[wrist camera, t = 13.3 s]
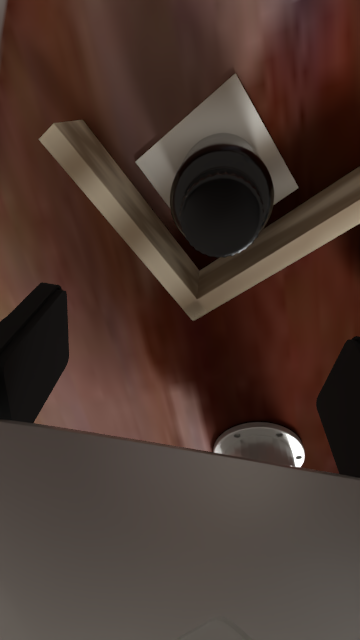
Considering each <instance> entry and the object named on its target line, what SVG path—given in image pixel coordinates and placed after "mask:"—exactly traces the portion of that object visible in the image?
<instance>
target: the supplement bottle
mask: <svg viewBox="0 0 360 640" xmlns="http://www.w3.org/2000/svg"><path fill="white" fill-rule="evenodd" d="M273 204H274V187H273V182H272V178H271V175H270V173H269V171H268V169H267V167H266V165H265V164H264V162H263V161H262V159H261V158H260V156H259V155H258V153H257V152H256V150H255V149H254V148H253V147H252V146H251V145H250V144H249V143H248V142H247V141H246V140H244V139H243V138H241V137H239V136H237V135H234V134H229V133H218V134H213V135H210V136H207V137H205V138H203V139H202V140H200V141H199V142H197V143H196V144H195V145H194V146H193V147H192V148H191V150H190V151H189V152H188V154H187V155H186V157H185V159H184V160H183V162H182V164H181V166H180V167H179V169H178V171H177V173H176V175H175V177H174V180H173V183H172V186H171V191H170V209H171V213H172V217H173V219H174V222H175V224H176V226H177V228H178V229H179V231H180V232H181V233H182V234H183V236H184V237H185V239H186V240H188V241H189V243H190V245H191V246H193V247H194V248H195V249H196V250H197V251H200V252H201V253H202V254H207V255H208V256H210V257H211V256H214V257H216V258H219V257H224V258H225V257H227V256H233V255H235V254H238V253H241V252H242V251H243V250H245V249H247V248H248V246H249V245H251V244H253V242H254V239H256V238H257V237H258V234H259V233H260V232H261V231H262V230H263V228H264V227H265V225H266V224H267V222H268V220H269V218H270V215H271V212H272V209H273Z"/></svg>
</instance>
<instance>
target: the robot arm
mask: <svg viewBox="0 0 360 640" xmlns="http://www.w3.org/2000/svg"><path fill="white" fill-rule="evenodd" d="M68 359H69V343H68V316H67V294H66V291H63V290H62V289H61V287H60V285H54V284H48V283H40V284H39V285H38V286H37V287H36V288H35V289H34V290H33V291H32V292H31V293H30V294H29V295H28V296H27V297H26V298H25V299H24V300H23V301H22V302H21V303H20V304H19V305H18V306H17V307H16V308H15V309H14V310H13V311H12V312H11V313H10V314H9V315H8V316H7V317H6V318H4V319H3V320H2V321H1V322H0V640H360V337H358V336H356V337H354V338H352V340H347V341H346V343H345V344H344V346H343V348H342V350H341V352H340V354H339V356H338V358H337V360H336V362H335V364H334V366H333V368H332V370H331V372H330V374H329V376H328V378H327V380H326V382H325V384H324V386H323V388H322V390H321V391H320V393H319V395H318V398H317V402H316V406H317V410H318V413H319V416H320V419H321V422H322V424H323V427H324V430H325V433H326V436H327V439H328V442H329V445H330V448H331V451H332V454H333V456H334V459H335V462H336V465H337V468H338V471H339V474H335V473H330V472H324V471H318V470H312V469H307V468H301V465H302V464H303V461H304V458H305V452H304V448H303V444H302V442H301V440H300V439H299V437H298V436H297V435H296V434H295V433H293V432H292V431H291V430H289V429H287V428H285V427H283V426H280V425H277V424H273V423H267V422H251V423H245V424H240V425H237V426H235V427H232V428H230V429H228V430H227V431H225V432H224V433H223V434H221V435H220V436H219V437H218V439H217V440H216V442H215V444H214V448H213V452H208V451H202V450H196V449H190V448H184V447H178V446H172V445H166V444H160V443H154V442H148V441H142V440H135V439H129V438H123V437H117V436H111V435H105V434H99V433H93V432H86V431H80V430H74V429H68V428H61V427H55V426H48V425H42V424H35V423H34V421H35V419H36V417H37V416H38V414H39V412H40V410H41V409H42V407H43V405H44V403H45V402H46V400H47V398H48V397H49V395H50V393H51V391H52V390H53V388H54V386H55V384H56V383H57V381H58V379H59V377H60V376H61V374H62V372H63V371H64V369H65V367H66V365H67V363H68Z"/></svg>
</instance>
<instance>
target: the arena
mask: <svg viewBox="0 0 360 640" xmlns="http://www.w3.org/2000/svg"><path fill="white" fill-rule="evenodd" d="M218 133H229V134H234V135H237V136H239V137H241V138H243V139H244V140H246V141H247V142H248V143H249V144H250V145H251V146H252V147H253V148H254V149H255V150H256V152H257V153H258V155H259V156H260V158H261V159H262V161H263V162H264V164H265V165H266V167H267V169H268V171H269V173H270V175H271V178H272V182H273V187H274V204H276V203H277V202H279V201H280V200H282V199H283V198H285V197H286V196H287V195H289V194H290V193H292V192H293V191H295V190H296V189H298V188H299V187H298V185H297V184H296V182H295V180H294V178H293V176H292V175H291V173H290V171H289V169H288V167H287V166H286V164H285V162H284V160H283V158H282V157H281V155H280V153H279V151H278V149H277V148H276V146H275V144H274V142H273V140H272V139H271V137H270V135H269V133H268V131H267V129H266V128H265V126H264V124H263V122H262V120H261V119H260V117H259V115H258V113H257V111H256V110H255V108H254V106H253V104H252V102H251V101H250V99H249V97H248V95H247V93H246V92H245V90H244V88H243V86H242V84H241V82H240V81H239V79H238V77H237V75H236V73H235V74H234V75H233V76H232V77H231V78H229V79H228V80H227V81H226V82H225V83H224V84H223V85H221V86H220V87H219V88H218V89H217V90H216V91H215V92H214V93H212V94H211V95H210V96H209V97H208V98H207V99H206V100H204V101H203V102H202V103H201V104H200V105H199V106H198V107H197V108H195V109H194V110H193V111H192V112H191V113H190V114H189V115H188V116H186V117H185V118H184V119H183V120H182V121H181V122H180V123H178V124H177V125H176V126H175V127H174V128H173V129H172V130H171V131H169V132H168V133H167V134H166V135H165V136H164V137H163V138H161V139H160V140H159V141H158V142H157V143H156V144H155V145H154V146H152V147H151V148H150V149H149V150H148V151H147V152H146V153H145V154H143V155H142V156H141V157H140V158H139V159H138V160H137V161H135V162H136V164H137V165H138V166H139V168H140V169H141V170H142V172H143V173H144V174H145V176H146V177H147V178H148V180H149V181H150V182H151V184H152V185H153V186H154V188H155V189H156V190H157V192H158V193H159V194H160V196H161V197H162V198H163V200H164V201H165V202H166V204H167V205H168V206H169V208H170V191H171V186H172V183H173V180H174V177H175V175H176V173H177V171H178V169H179V167H180V166H181V164H182V162H183V160H184V159H185V157H186V155H187V154H188V152H189V151H190V150H191V148H192V147H193V146H194V145H195V144H196V143H197V142H199V141H200V140H202V139H203V138H205V137H207V136H210V135H213V134H218ZM39 140H40V142H41V143H42V144H43V145H44V146H45V147H46V149H47V150H48V151H49V152H50V153H51V155H52V156H53V157H54V158H55V159H56V160H57V162H58V163H59V164H60V165H61V166H62V168H63V169H64V170H65V171H66V172H67V173H68V175H69V176H70V177H71V178H72V179H73V180H74V182H75V183H76V184H77V185H78V186H79V188H80V189H81V190H82V191H83V192H84V193H85V195H86V196H87V197H88V198H89V199H90V200H91V202H92V203H93V204H94V205H95V206H96V208H97V209H98V210H99V211H100V212H101V213H102V215H103V216H104V217H105V218H106V219H107V220H108V222H109V223H110V224H111V225H112V226H113V228H114V229H115V230H116V231H117V232H118V233H119V235H120V236H121V237H122V238H123V239H124V241H125V242H126V243H127V244H128V245H129V246H130V248H131V249H132V250H133V251H134V252H135V253H136V255H137V256H138V257H139V258H140V259H141V261H142V262H143V263H144V264H145V265H146V266H147V268H148V269H149V270H150V271H151V272H152V273H153V275H154V276H155V277H156V278H157V279H158V281H159V282H160V283H161V284H162V285H163V286H164V288H165V289H166V290H167V291H168V292H169V294H170V295H171V296H172V297H173V298H174V299H175V301H176V302H177V303H178V304H179V305H180V306H181V308H182V309H183V310H184V311H185V312H186V314H187V315H188V316H189V317H190V318H191V319H192V321H193V320H194V321H195V320H196V319H198V318H200V317H201V316H203V315H205V314H207V313H208V312H210V311H212V310H213V309H215V308H217V307H218V306H220V305H222V304H224V303H225V302H227V301H229V300H230V299H232V298H234V297H235V296H237V295H239V294H241V293H242V292H244V291H246V290H247V289H249V288H251V287H252V286H254V285H256V284H258V283H259V282H261V281H263V280H264V279H266V278H268V277H269V276H271V275H273V274H275V273H276V272H278V271H280V270H281V269H283V268H285V267H286V266H288V265H290V264H292V263H293V262H295V261H297V260H298V259H300V258H302V257H303V256H305V255H307V254H309V253H310V252H312V251H314V250H315V249H317V248H319V247H320V246H322V245H324V244H326V243H327V242H329V241H331V240H332V239H334V238H336V237H337V236H339V235H341V234H343V233H344V232H346V231H348V230H349V229H351V228H353V227H355V226H356V225H358V224H360V166H359V167H358V168H356V169H355V170H353V171H352V172H350V173H348V174H347V175H345V176H344V177H342V178H341V179H339V180H338V181H336V182H335V183H333V184H332V185H330V186H329V187H327V188H325V189H324V190H322V191H321V192H319V193H318V194H316V195H315V196H313V197H312V198H310V199H309V200H307V201H306V202H304V203H303V204H301V205H299V206H298V207H296V208H295V209H293V210H292V211H290V212H289V213H287V214H286V215H284V216H283V217H281V218H280V219H278V220H276V221H275V222H273V223H272V224H270V225H269V226H267V227H266V228H264V229H263V230H262V231H261V232H260V233H259V234H258V237H257V238H256V239H254V242H253V244H251V245H249V246H248V248H247V249H245V250H243V251H242V252H241V253H238V254H235V255H233V256H227V257H225V258H224V257H220V258H218V259H217V260H215V261H214V262H212V263H211V264H209V265H208V266H206V267H205V268H203V269H201V270H200V271H199V269H198V268H197V267H196V266H195V264H194V263H193V262H192V260H191V259H190V258H189V257H188V255H187V254H186V253H185V251H184V250H183V249H182V247H181V246H180V245H179V244H178V242H177V241H176V240H175V238H174V237H173V236H172V235H171V233H170V232H169V231H168V229H167V228H166V227H165V226H164V224H163V223H162V222H161V220H160V219H159V218H158V216H157V215H156V214H155V213H154V211H153V210H152V209H151V207H150V206H149V205H148V204H147V202H146V201H145V200H144V198H143V197H142V196H141V195H140V193H139V192H138V191H137V189H136V188H135V187H134V185H133V184H132V183H131V182H130V180H129V179H128V178H127V176H126V175H125V174H124V173H123V171H122V170H121V169H120V167H119V166H118V165H117V164H116V162H115V161H114V160H113V158H112V157H111V156H110V154H109V153H108V152H107V151H106V149H105V148H104V147H103V145H102V144H101V143H100V142H99V140H98V139H97V138H96V136H95V135H94V134H93V132H92V131H91V130H90V129H89V127H88V126H87V125H86V123H85V122H84V121H83V120H76V121H68V122H60V123H53V125H52V126H51V127H50V128H49V129H48V130H47V131H46V132H45V133H44V134H43V135H42V136H41V137H40V139H39ZM274 204H273V205H274Z"/></svg>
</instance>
